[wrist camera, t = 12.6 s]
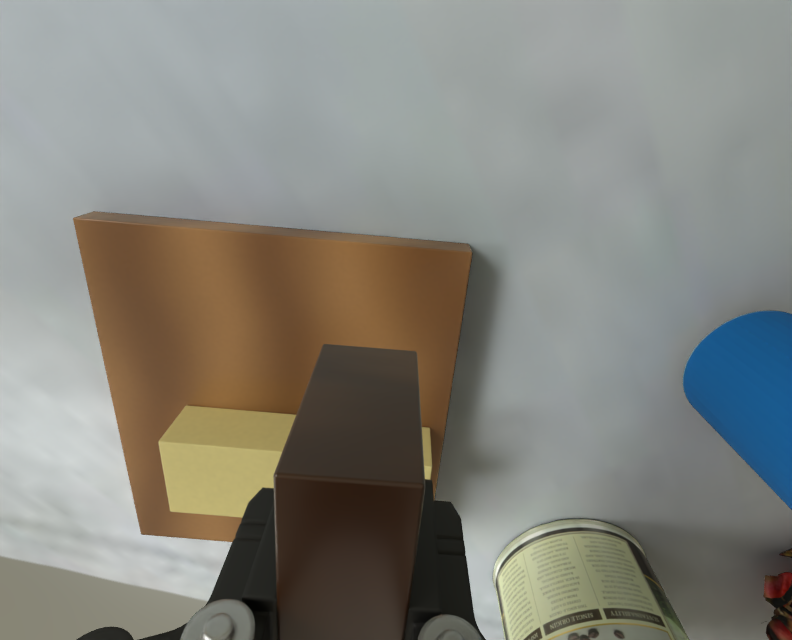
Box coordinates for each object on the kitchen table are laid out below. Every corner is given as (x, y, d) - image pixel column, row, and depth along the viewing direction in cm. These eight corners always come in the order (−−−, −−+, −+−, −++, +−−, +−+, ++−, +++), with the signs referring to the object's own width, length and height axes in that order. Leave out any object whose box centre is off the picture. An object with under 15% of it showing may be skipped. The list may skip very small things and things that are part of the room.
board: (153, 515, 30) (140, 535, 29) (93, 210, 22) (72, 217, 20) (424, 538, 30) (425, 558, 29) (469, 243, 22) (473, 252, 20)
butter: (194, 470, 26) (169, 512, 24) (185, 404, 24) (157, 441, 22) (315, 480, 26) (304, 523, 24) (316, 415, 24) (304, 454, 22)
